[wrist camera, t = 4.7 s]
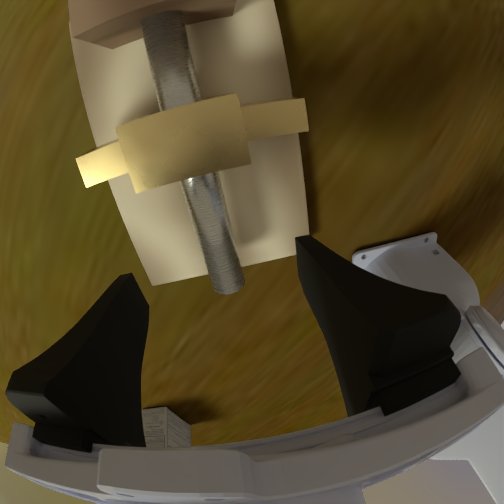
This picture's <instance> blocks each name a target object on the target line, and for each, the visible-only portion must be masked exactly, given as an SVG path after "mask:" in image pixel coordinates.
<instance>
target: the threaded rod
mask: <svg viewBox="0 0 504 504" xmlns="http://www.w3.org/2000/svg"><path fill="white" fill-rule="evenodd" d="M141 29H142V34H143V39H144V43H145V48H146V53H147V58H148V62H149V67H150V71H151V75H152V80H153V84H154V88H155V92H156V97H157V101H158V105H159V109H160V112H161V111H164V110H168V109H171V108H175V107H178V106H182V105H186V104H189V103H193V102H197V101H201V100H202V99H201V95H200V91H199V86H198V82H197V77H196V73H195V68H194V64H193V59H192V54H191V50H190V45H189V41H188V36H187V31H186V26H185V22H184V17H183V12H182V11H179V10H169V11H163V12H159V13H156V14H153V15H151V16H149V17H147V18H145V19H143V20H142V21H141ZM179 182H180V185H181V189H182V192H183V196H184V199H185V202H186V205H187V209H188V212H189V215H190V218H191V222H192V225H193V228H194V231H195V234H196V237H197V240H198V244H199V247H200V250H201V253H202V256H203V259H204V262H205V265H206V268H207V271H208V274H209V276H210V279H211V282H212V285H213V288H214V290H215V291H216V292H217V293H219V294H232V293H235V292H237V291H238V290H240V289H241V288H242V287H243V285H244V283H245V279H244V275H243V271H242V267H241V263H240V259H239V255H238V251H237V247H236V243H235V239H234V235H233V231H232V227H231V223H230V218H229V214H228V210H227V206H226V202H225V198H224V194H223V190H222V185H221V181H220V177H219V173H218V172H214V173H209V174H205V175H201V176H197V177H193V178H189V179H185V180H181V181H179Z"/></svg>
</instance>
